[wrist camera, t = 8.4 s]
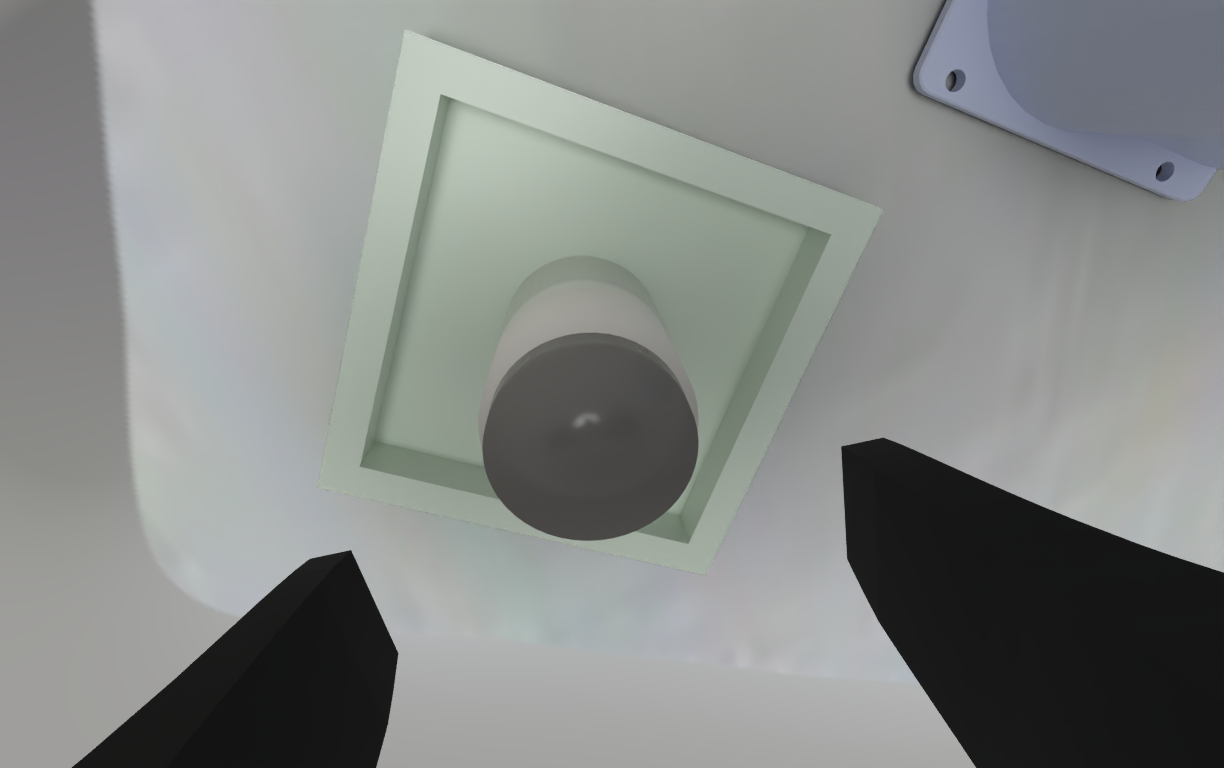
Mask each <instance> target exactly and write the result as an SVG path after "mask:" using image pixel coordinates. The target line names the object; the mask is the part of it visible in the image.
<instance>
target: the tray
mask: <svg viewBox="0 0 1224 768" xmlns="http://www.w3.org/2000/svg"><path fill="white" fill-rule="evenodd" d="M882 211H883V208H880V207H877V206H875V205H872V204H869V203H867V202H864V201H861V200H859V199H856V198H853V197H851V196H848V195H845V194H843V193H840V192H837V191H835V190H832V189H829V188H827V187H824V186H821V185H819V184H816V183H813V182H811V181H808V180H805V179H803V178H800V177H797V176H795V175H792V174H789V173H787V172H784V171H781V170H779V169H776V168H773V167H771V166H768V165H765V164H763V163H760V162H757V161H755V160H752V159H749V158H747V157H744V156H741V155H739V154H736V153H733V152H731V151H728V150H725V149H723V148H720V147H717V146H715V145H712V144H710V143H707V142H704V141H702V140H699V139H696V138H694V137H691V136H688V135H686V134H683V133H680V132H678V131H675V130H672V129H670V128H667V127H664V126H662V125H659V124H656V123H654V122H651V121H648V120H646V119H643V118H640V117H638V116H635V115H632V114H630V113H627V112H624V111H622V110H619V109H616V108H614V107H611V106H608V105H606V104H603V103H600V102H598V101H595V100H592V99H590V98H587V97H584V96H582V95H579V94H576V93H574V92H571V91H568V90H566V89H563V88H560V87H558V86H555V85H552V84H550V83H547V82H544V81H542V80H539V79H536V78H534V77H531V76H529V75H526V74H523V73H521V72H518V71H515V70H513V69H510V68H507V67H505V66H502V65H499V64H497V63H494V62H491V61H489V60H486V59H483V58H481V57H478V56H475V55H473V54H470V53H467V52H465V51H462V50H459V49H457V48H454V47H451V46H449V45H446V44H443V43H441V42H438V41H435V40H433V39H430V38H427V37H425V36H422V35H419V34H417V33H414V32H411V31H409V30H406V29H405V30H404V35H403V41H402V46H401V51H400V56H399V62H398V67H397V72H396V77H395V83H394V88H393V93H392V98H391V104H390V109H389V114H388V119H387V124H386V130H385V135H384V140H383V145H382V151H381V156H380V161H379V166H378V172H377V177H376V182H375V187H374V193H373V198H372V203H371V208H370V213H369V219H368V224H367V229H366V234H365V240H364V245H363V250H362V255H361V261H360V266H359V271H358V276H357V282H356V287H355V292H354V297H353V303H352V308H351V313H350V318H349V323H348V329H347V334H346V339H345V344H344V350H343V355H342V360H341V365H340V371H339V376H338V381H337V386H336V392H335V397H334V402H333V407H332V412H331V418H330V423H329V428H328V433H327V439H326V444H325V449H324V454H323V460H322V465H321V470H320V475H319V481H318V486H317V488H320V489H325V490H329V491H333V492H338V493H342V494H347V495H351V496H356V497H360V498H364V499H369V500H373V501H378V502H382V503H387V504H391V505H395V506H400V507H404V508H409V509H413V510H418V511H422V512H426V513H431V514H435V515H440V516H444V517H449V518H453V519H457V520H462V521H466V522H471V523H475V524H480V525H484V526H488V527H493V528H497V529H502V530H506V531H511V532H515V533H519V534H524V535H528V536H533V537H537V538H542V539H546V540H550V541H555V542H559V543H564V544H568V545H573V546H577V547H581V548H586V549H590V550H595V551H599V552H604V553H608V554H612V555H617V556H621V557H626V558H630V559H635V560H639V561H643V562H648V563H652V564H657V565H661V566H666V567H670V568H674V569H679V570H683V571H688V572H692V573H697V574H701V575H705V576H706V574H707V572H708V570H709V568H710V566H711V564H712V562H713V560H714V558H715V556H716V554H717V551H718V549H719V547H720V545H721V543H722V541H723V539H724V537H725V535H726V533H727V531H728V529H729V527H730V525H731V523H732V521H733V518H734V516H735V514H736V512H737V510H738V508H739V506H740V504H741V502H742V500H743V498H744V496H745V494H746V492H747V490H748V488H749V486H750V483H751V481H752V479H753V477H754V475H755V473H756V471H757V469H758V467H759V465H760V463H761V461H762V459H763V457H764V455H765V453H766V450H767V448H768V446H769V444H770V442H771V440H772V438H773V436H774V434H775V432H776V430H777V428H778V426H779V424H780V422H781V420H782V417H783V415H784V413H785V411H786V409H787V407H788V405H789V403H790V401H791V399H792V397H793V395H794V393H795V391H796V389H797V387H798V384H799V382H800V380H801V378H802V376H803V374H804V372H805V370H806V368H807V366H808V364H809V362H810V360H811V358H812V356H813V354H814V352H815V349H816V347H817V345H818V343H819V341H820V339H821V337H822V335H823V333H824V331H825V329H826V327H827V325H828V323H829V321H830V319H831V316H832V314H833V312H834V310H835V308H836V306H837V304H838V302H839V300H840V298H841V296H842V294H843V292H844V290H845V288H846V286H847V283H848V281H849V279H850V277H851V275H852V273H853V271H854V269H855V267H856V265H857V263H858V261H859V259H860V257H861V255H862V253H863V251H864V248H865V246H866V244H867V242H868V240H869V238H870V236H871V234H872V232H873V230H874V228H875V226H876V224H877V222H878V220H879V218H880V215H881V213H882ZM572 256H591V257H598V258H602V259H606V260H608V261H611V262H614V263H616V264H618V265H620V266H621V267H623V268H625V269H626V270H628V271H629V272H630V273H632V274H633V275H634V276H635V277H636V278H637V279H638V280H639V281H640V282H641V283H642V285H643V286H644V287H645V289H646V290H647V292H648V294H649V295H650V297H651V299H652V301H653V303H654V305H655V308H656V310H657V312H658V314H659V316H660V318H661V320H662V322H663V325H664V327H665V329H666V331H667V333H668V335H669V337H670V339H671V341H672V344H673V346H674V348H675V350H676V352H677V354H678V356H679V358H680V361H681V363H682V365H683V367H684V369H685V371H686V373H687V375H688V377H689V380H690V382H691V385H692V387H693V390H694V392H695V396H696V400H697V405H698V416H699V420H698V441H699V444H698V456H697V461H696V466H695V469H694V472H693V475H692V477H691V480H690V481H689V483H688V485H687V487H686V489H685V491H684V492H683V493H682V495H681V496H680V498H679V499H678V500H677V501H676V502H675V503H674V505H673V506H672V507H671V508H670V509H669V510H668V511H666V512H665V513H664V514H663V515H662V516H661V517H659V518H658V519H656V520H655V521H653V522H652V523H650V524H649V525H647V526H645V527H643V528H641V529H639V530H637V531H635V532H632V533H629V534H627V535H623V536H620V537H616V538H612V539H605V540H596V541H580V540H570V539H564V538H559V537H556V536H552V535H549V534H546V533H544V532H541V531H539V530H537V529H535V528H533V527H531V526H529V525H528V524H526V523H524V522H523V521H522V520H520V519H519V518H518V517H516V516H515V515H514V514H513V513H512V512H511V511H510V510H508V509H507V508H506V507H505V505H504V504H503V503H502V502H501V500H500V499H499V498H498V497H497V495H496V493H495V492H494V490H493V488H492V486H491V484H490V482H489V479H488V477H487V475H486V471H485V467H484V463H483V452H482V446H481V442H480V438H479V429H478V417H479V408H480V403H481V398H482V395H483V392H484V388H485V385H486V381H487V378H488V375H489V371H490V368H491V364H492V361H493V358H494V354H495V351H496V347H497V344H498V341H499V337H500V334H501V330H502V327H503V323H504V320H505V317H506V313H507V310H508V307H509V304H510V302H511V299H512V297H513V296H514V294H515V292H516V290H517V289H518V288H519V286H520V285H521V284H522V282H523V281H524V280H525V279H526V278H527V277H528V276H529V275H531V274H532V273H533V272H534V271H536V270H537V269H539V268H540V267H542V266H544V265H545V264H548V263H550V262H552V261H555V260H558V259H561V258H565V257H572Z"/></svg>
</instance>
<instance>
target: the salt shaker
mask: <svg viewBox="0 0 1224 768" xmlns="http://www.w3.org/2000/svg"><path fill="white" fill-rule="evenodd" d="M698 420H699V416H698V405H697V400H696V396H695V392H694V390H693V387H692V385H691V382H690V380H689V377H688V375H687V373H686V371H685V369H684V367H683V365H682V363H681V361H680V358H679V356H678V354H677V352H676V350H675V348H674V346H673V344H672V341H671V339H670V337H669V335H668V333H667V331H666V329H665V327H664V325H663V322H662V320H661V318H660V316H659V314H658V312H657V310H656V308H655V305H654V303H653V301H652V299H651V297H650V295H649V294H648V292H647V290H646V289H645V287H644V286H643V285H642V283H641V282H640V281H639V280H638V279H637V278H636V277H635V276H634V275H633V274H632V273H630V272H629V271H628V270H626V269H625V268H623V267H621V266H620V265H618V264H616V263H614V262H611V261H608V260H606V259H602V258H598V257H591V256H572V257H565V258H561V259H558V260H555V261H552V262H550V263H548V264H545V265H544V266H542V267H540V268H539V269H537V270H536V271H534V272H533V273H532V274H531V275H529V276H528V277H527V278H526V279H525V280H524V281H523V282H522V284H521V285H520V286H519V288H518V289H517V290H516V292H515V294H514V296H513V297H512V299H511V302H510V304H509V307H508V310H507V313H506V317H505V320H504V323H503V327H502V330H501V334H500V337H499V341H498V344H497V347H496V351H495V354H494V358H493V361H492V364H491V368H490V371H489V375H488V378H487V381H486V385H485V388H484V392H483V395H482V398H481V403H480V408H479V417H478V429H479V438H480V442H481V446H482V452H483V463H484V467H485V471H486V475H487V477H488V479H489V482H490V484H491V486H492V488H493V490H494V492H495V493H496V495H497V497H498V498H499V499H500V500H501V502H502V503H503V504H504V505H505V507H506V508H507V509H508V510H510V511H511V512H512V513H513V514H514V515H515V516H516V517H518V518H519V519H520V520H522V521H523V522H524V523H526V524H528V525H529V526H531V527H533V528H535V529H537V530H539V531H541V532H544V533H546V534H549V535H552V536H556V537H559V538H564V539H570V540H580V541H596V540H605V539H612V538H616V537H620V536H623V535H627V534H629V533H632V532H635V531H637V530H639V529H641V528H643V527H645V526H647V525H649V524H650V523H652V522H653V521H655V520H656V519H658V518H659V517H661V516H662V515H663V514H664V513H665V512H666V511H668V510H669V509H670V508H671V507H672V506H673V505H674V503H675V502H676V501H677V500H678V499H679V498H680V496H681V495H682V493H683V492H684V491H685V489H686V487H687V485H688V483H689V481H690V480H691V477H692V475H693V472H694V469H695V466H696V461H697V456H698V444H699V441H698Z"/></svg>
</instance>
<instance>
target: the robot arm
mask: <svg viewBox="0 0 1224 768" xmlns="http://www.w3.org/2000/svg"><path fill="white" fill-rule="evenodd" d="M951 71H953V72H954V73H955V74H956V78H957V81H956V84H955V86H954V88H953V89H952V90H951V91H949V90H948V89H947V88H946V84H945V82H946V78H947V76H948V75H949V73H950V72H951ZM913 83H914V86H915V88H916V90H917V91H918V92H920V93H921V94H922V95H925V96H927V97H929V98H932V99H934V100H936V101H939V102H941V103H944V104H946V105H948V106H951V107H953V108H955V109H958V110H960V111H962V112H965V113H967V114H969V115H972V116H974V117H977V118H979V119H981V120H984V121H986V122H988V123H991V124H993V125H995V126H998V127H1000V128H1002V129H1005V130H1007V131H1010V132H1012V133H1014V134H1017V135H1019V136H1021V137H1024V138H1026V139H1028V140H1031V141H1033V142H1036V143H1038V144H1040V145H1043V146H1045V147H1047V148H1050V149H1052V150H1054V151H1057V152H1059V153H1061V154H1064V155H1066V156H1069V157H1071V158H1073V159H1076V160H1078V161H1080V162H1083V163H1085V164H1087V165H1090V166H1092V167H1094V168H1097V169H1099V170H1102V171H1104V172H1106V173H1109V174H1111V175H1113V176H1116V177H1118V178H1120V179H1123V180H1125V181H1128V182H1130V183H1132V184H1135V185H1137V186H1139V187H1142V188H1144V189H1146V190H1149V191H1151V192H1153V193H1156V194H1158V195H1161V196H1163V197H1165V198H1168V199H1170V200H1177V201H1184V202H1186V201H1189V200H1193V199H1194V198H1196V197H1197V196H1199V194H1200V193H1201V192H1202V191H1203V190H1204V189H1205V187H1206V186H1207V184H1208V183H1209V181H1210V180H1211V178H1212V177H1213V175H1214V174H1215V172H1216V171H1217V169H1224V0H947V1H946V3H945V5H944V7H943V9H942V12H941V14H940V16H939V18H938V20H937V22H936V24H935V27H934V29H933V31H932V33H931V35H930V37H929V39H928V42H927V44H926V46H925V48H924V50H923V52H922V54H921V57H920V59H919V61H918V63H917V65H916V67H915V71H914V74H913ZM1160 165H1162V170H1161V172H1160V174H1159V175H1158V176H1157V177H1156V171H1157V169H1158V168H1159V166H1160ZM841 449H842V468H843V487H844V506H845V525H846V544H847V559H848V561H849V563H850V566H851V568H852V570H853V572H854V574H855V576H856V578H857V580H858V582H859V584H860V586H861V588H862V590H863V592H864V594H865V596H866V598H867V600H868V602H869V604H870V606H871V608H872V609H873V611H874V613H875V615H876V617H877V619H878V621H879V623H880V624H881V626H882V627H883V629H884V630H885V632H886V633H887V635H888V636H889V638H890V640H891V641H892V643H893V644H894V646H895V647H896V649H897V650H898V652H899V653H900V655H901V656H902V658H903V659H904V661H905V662H906V664H907V665H908V667H909V668H910V670H911V671H912V673H913V674H914V676H915V677H916V679H917V680H918V682H919V683H920V685H921V686H922V687H923V689H924V690H925V692H926V694H927V695H928V696H929V698H930V700H931V701H932V702H933V704H934V705H935V707H936V708H937V710H938V711H939V713H940V714H941V716H942V717H943V719H944V720H945V722H946V723H947V725H948V726H949V728H950V729H951V731H952V732H953V734H954V735H955V737H956V738H957V740H958V741H959V743H960V744H961V745H962V747H963V749H964V750H965V752H966V753H967V755H968V756H969V758H970V759H971V760H972V762H973V763H974V765H975V766H976V768H1224V573H1223V572H1220V571H1217V570H1214V569H1211V568H1208V567H1204V566H1201V565H1198V564H1195V563H1192V562H1189V561H1186V560H1183V559H1180V558H1177V557H1174V556H1171V555H1168V554H1165V553H1162V552H1159V551H1157V550H1154V549H1151V548H1148V547H1145V546H1142V545H1140V544H1137V543H1134V542H1131V541H1129V540H1126V539H1124V538H1121V537H1118V536H1116V535H1113V534H1111V533H1108V532H1105V531H1103V530H1100V529H1097V528H1095V527H1092V526H1090V525H1087V524H1084V523H1082V522H1079V521H1077V520H1074V519H1071V518H1069V517H1066V516H1064V515H1062V514H1059V513H1057V512H1054V511H1052V510H1049V509H1047V508H1044V507H1042V506H1040V505H1037V504H1035V503H1033V502H1030V501H1028V500H1025V499H1023V498H1021V497H1018V496H1016V495H1014V494H1011V493H1009V492H1007V491H1005V490H1002V489H1000V488H998V487H995V486H993V485H991V484H989V483H986V482H984V481H982V480H980V479H977V478H975V477H973V476H971V475H968V474H966V473H964V472H962V471H960V470H957V469H955V468H953V467H951V466H948V465H946V464H944V463H942V462H940V461H937V460H935V459H933V458H931V457H928V456H926V455H924V454H922V453H919V452H917V451H915V450H913V449H910V448H908V447H906V446H903V445H901V444H898V443H896V442H893V441H891V440H888V439H885V438H880V439H875V440H870V441H866V442H861V443H856V444H851V445H847V446H842V447H841ZM397 659H398V652H397V650H396V647H395V645H394V643H393V641H392V639H391V636H390V634H389V632H388V630H387V628H386V626H385V623H384V621H383V619H382V617H381V615H380V612H379V610H378V608H377V606H376V604H375V602H374V599H373V597H372V595H371V593H370V591H369V588H368V586H367V584H366V582H365V580H364V578H363V575H362V573H361V571H360V569H359V567H358V564H357V562H356V560H355V558H354V556H353V554H352V551H351V550H350V551H345V552H341V553H336V554H331V555H326V556H322V557H317V558H312V559H309V560H308V561H307V562H305V563H304V564H303V565H302V566H300V567H299V568H298V569H296V570H295V571H294V572H293V573H292V574H290V575H289V576H288V577H287V578H286V579H285V580H283V581H282V582H281V583H280V584H279V585H278V586H276V587H275V588H274V589H273V590H272V591H271V592H270V593H269V594H268V595H266V596H265V597H264V598H263V599H262V600H261V601H260V602H259V603H258V604H256V605H255V606H254V607H253V608H252V609H251V610H250V611H249V612H248V613H247V614H246V615H244V616H243V617H242V618H241V619H240V620H239V621H238V622H237V623H236V624H235V625H234V626H233V627H231V628H230V629H229V630H228V631H227V632H226V633H225V634H224V635H223V636H222V637H220V638H219V639H218V640H217V641H216V642H215V643H214V644H213V645H212V646H211V647H209V648H208V649H207V650H206V651H205V652H204V653H203V654H202V655H201V656H200V657H199V658H198V659H196V660H195V661H194V662H193V663H192V664H191V665H190V666H189V667H188V668H187V669H185V670H184V671H183V672H182V673H181V674H180V675H179V676H178V677H177V678H176V679H174V680H173V681H172V682H171V683H170V684H169V685H167V686H166V687H165V688H164V689H163V690H162V691H161V692H160V693H158V694H157V695H156V696H155V697H154V698H152V699H151V700H150V701H149V702H148V703H147V704H146V705H144V706H143V707H142V708H141V709H140V710H139V711H137V713H135V714H134V715H133V716H132V717H130V718H129V719H128V720H127V721H126V722H125V723H124V724H122V725H121V726H120V727H119V728H118V729H117V730H115V731H114V732H113V733H112V734H111V735H110V736H109V737H107V738H106V739H105V740H104V741H103V742H102V743H101V744H99V745H98V746H97V747H96V748H95V749H93V750H92V751H91V752H90V753H89V754H88V755H86V756H85V757H84V758H83V759H82V760H80V761H79V762H78V763H77V764H75V765H74V766H73V767H72V768H376V766H377V762H378V758H379V755H380V751H381V748H382V744H383V740H384V737H385V733H386V729H387V725H388V719H389V714H390V708H391V701H392V695H393V689H394V681H395V673H396V665H397Z"/></svg>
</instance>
